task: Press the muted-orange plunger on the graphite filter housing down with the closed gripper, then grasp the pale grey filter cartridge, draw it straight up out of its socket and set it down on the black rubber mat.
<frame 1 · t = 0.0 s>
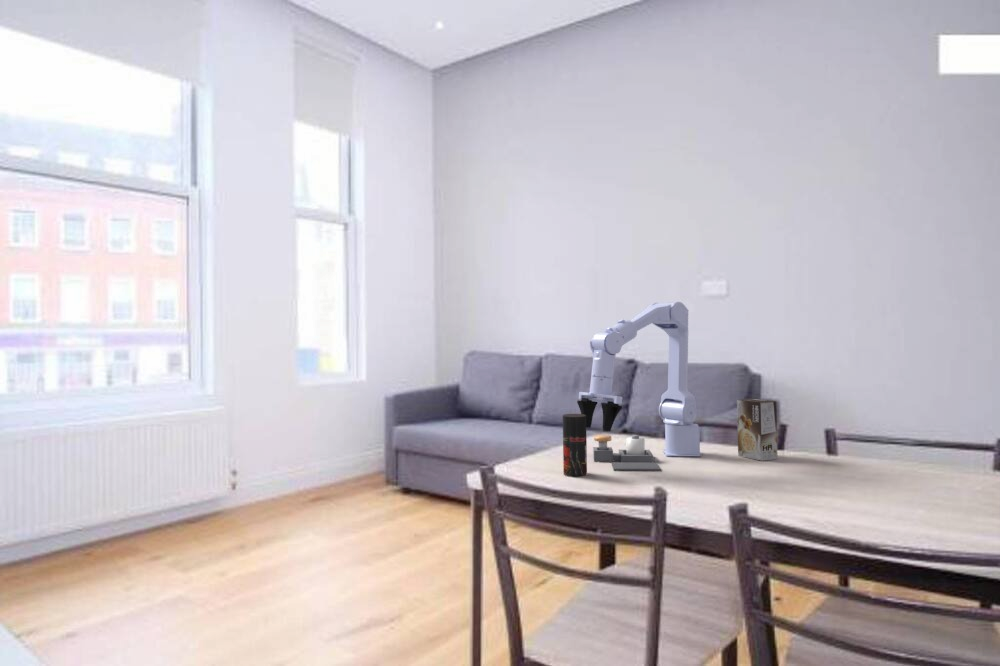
hand: (596, 429, 173), 11 cm above the table, tool pointing down, fingers open, 7 cm apart
deodorant: (575, 474, 168), on the table
cartridge: (635, 459, 184), resting in housing
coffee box: (757, 458, 185), on the table
housing: (619, 459, 185), on the table
mat: (635, 467, 174), on the table
plunger: (602, 443, 185), point 5 cm above the table, slide at 0.0 cm
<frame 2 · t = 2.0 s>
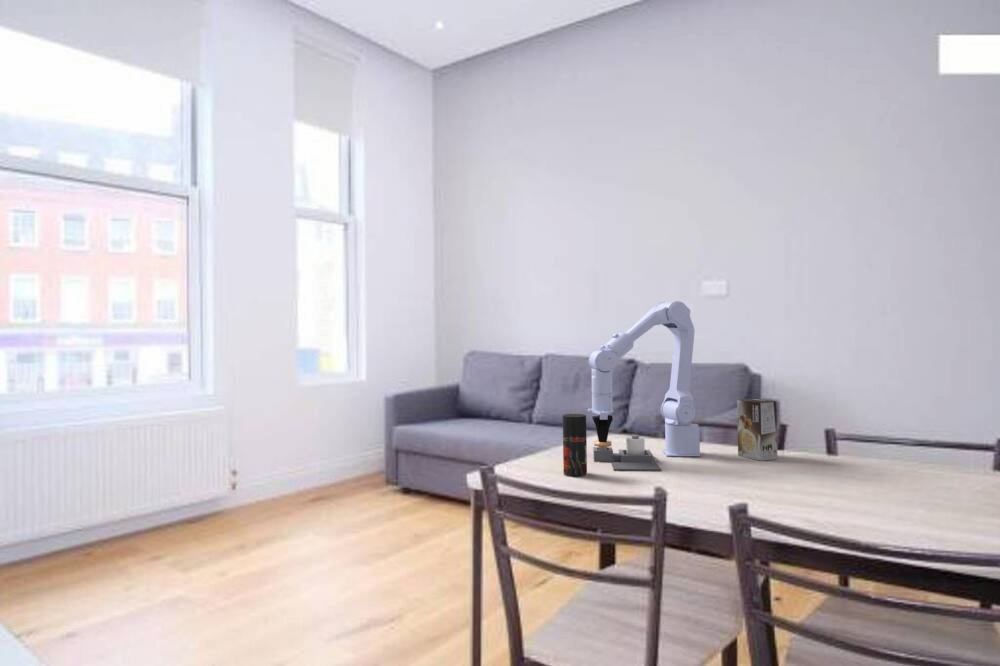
hand: (602, 441, 185), 5 cm above the table, tool pointing down, fingers closed, pressing on plunger
plunger: (602, 448, 185), point 3 cm above the table, slide at 1.5 cm, touching gripper
everything else where it was.
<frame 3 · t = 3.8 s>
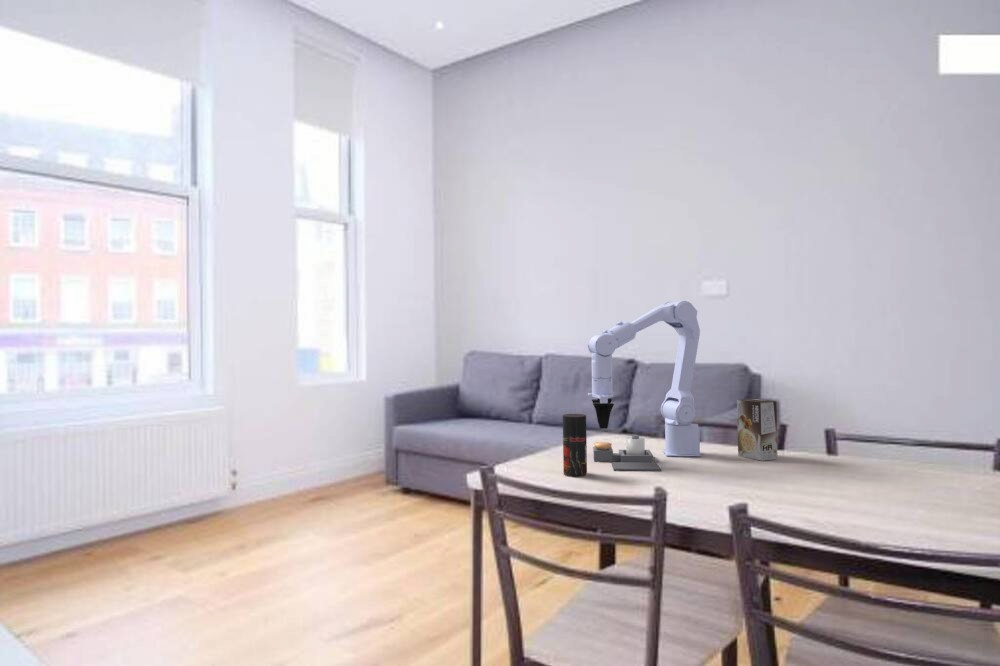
hand: (602, 426, 185), 9 cm above the table, tool pointing down, fingers open, 7 cm apart
plunger: (602, 450, 185), point 3 cm above the table, slide at 2.0 cm
everything else where it was.
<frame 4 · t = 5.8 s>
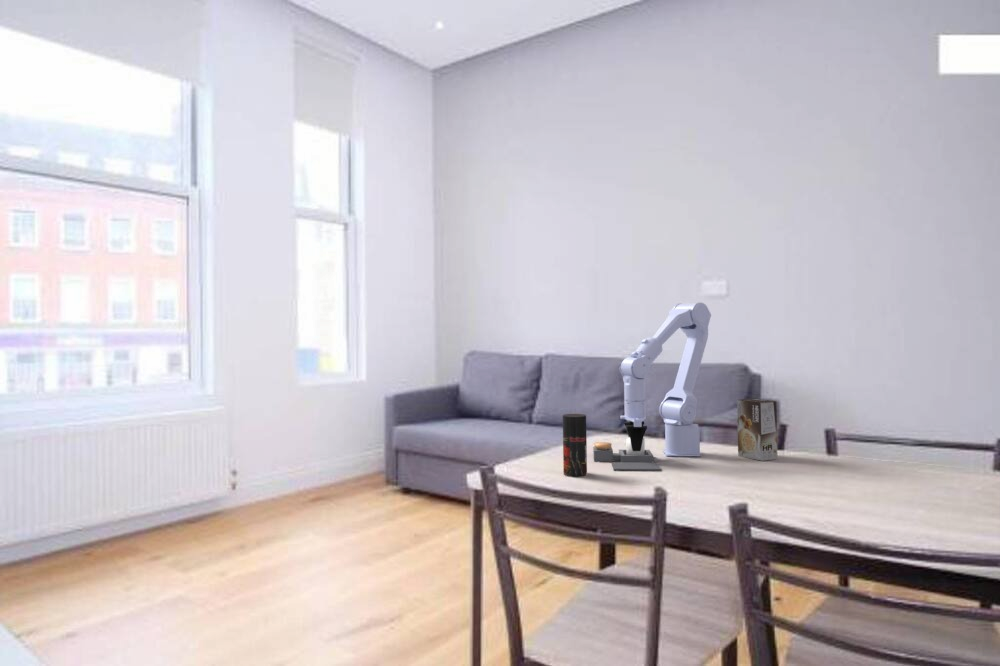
hand: (635, 448, 184), 3 cm above the table, tool pointing down, fingers closed on cartridge, 5 cm apart
cartridge: (635, 459, 184), resting in housing, touching gripper
everything else where it was.
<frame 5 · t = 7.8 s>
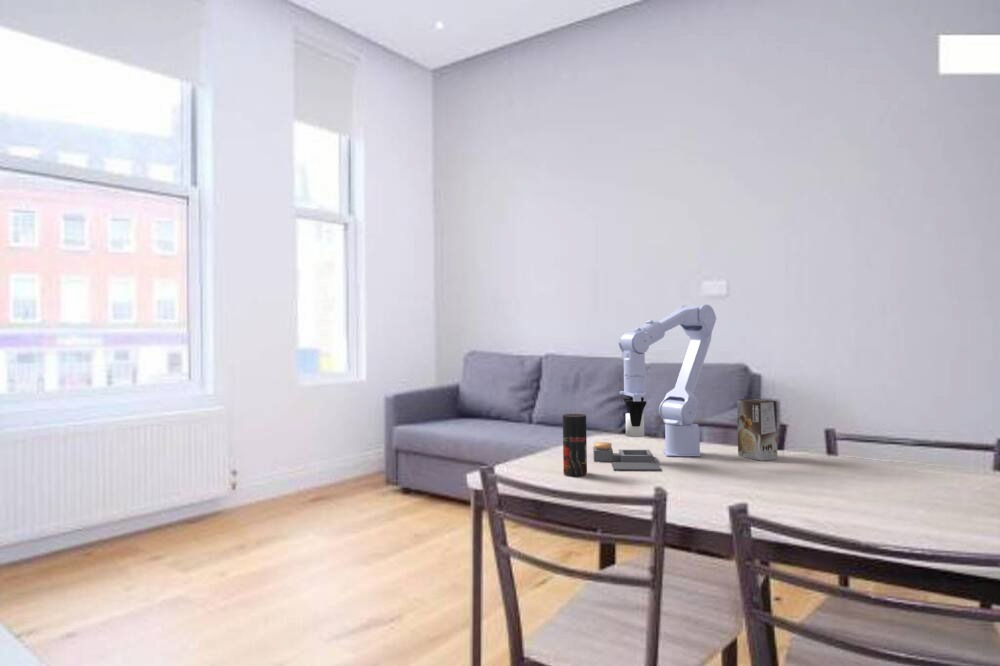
hand: (634, 424, 182), 10 cm above the table, tool pointing down, fingers closed on cartridge, 5 cm apart
cartridge: (634, 435, 182), point 7 cm above the table, touching gripper
everything else where it was.
when the fingers open (5 cm above the table, at t = 9.8 s): cartridge drops 1 cm, resting on mat.
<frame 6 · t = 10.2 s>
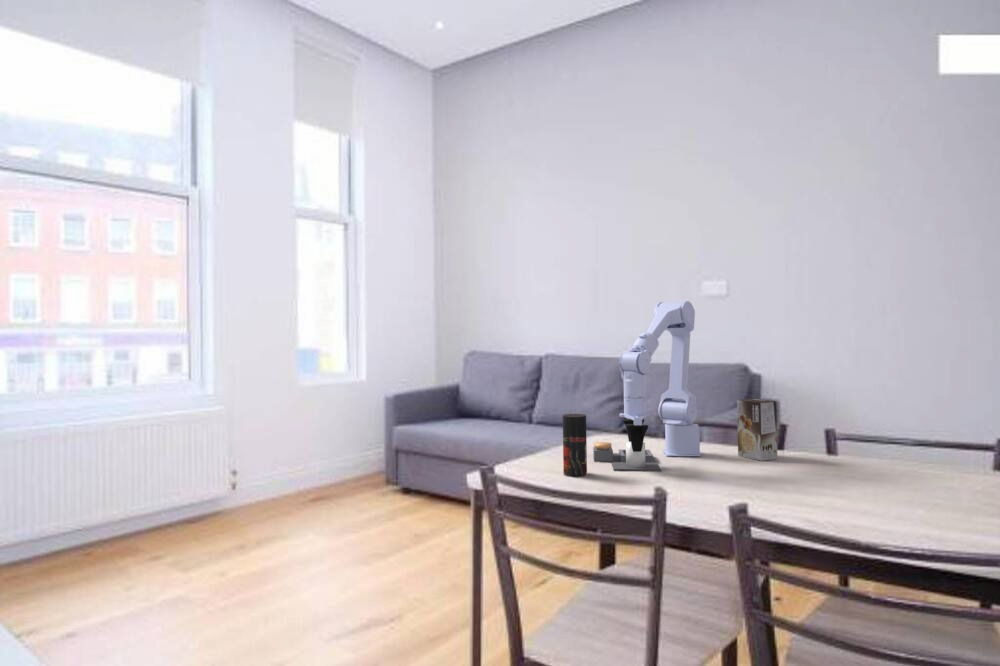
hand: (635, 448, 174), 5 cm above the table, tool pointing down, fingers open, 7 cm apart
cartridge: (635, 465, 174), point 1 cm above the table, touching mat
everything else where it was.
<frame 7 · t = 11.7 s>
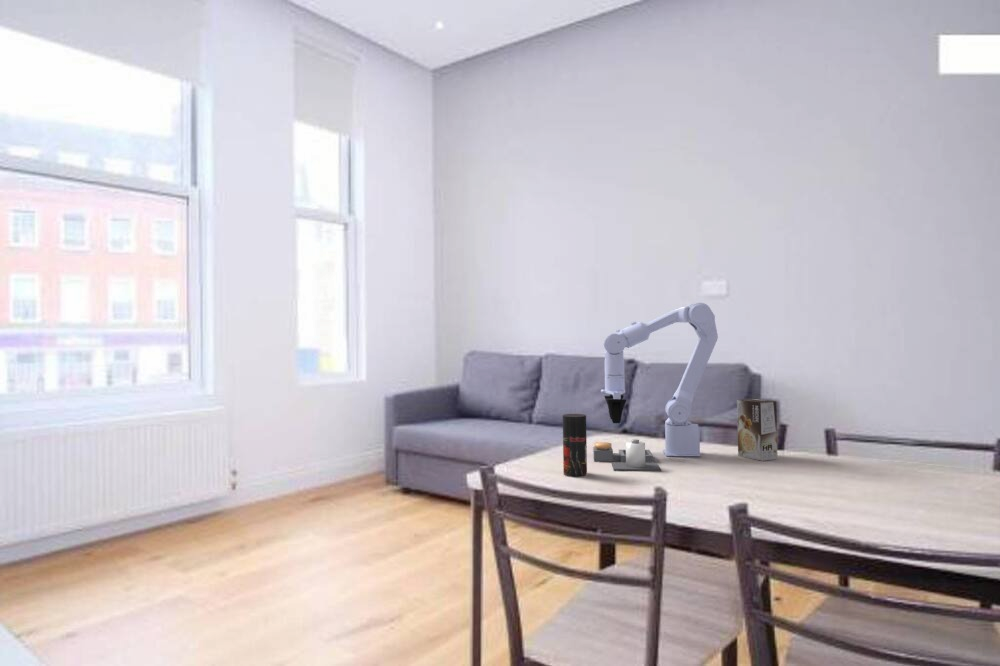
hand: (615, 421, 193), 9 cm above the table, tool pointing down, fingers open, 7 cm apart
nothing on the table moved.
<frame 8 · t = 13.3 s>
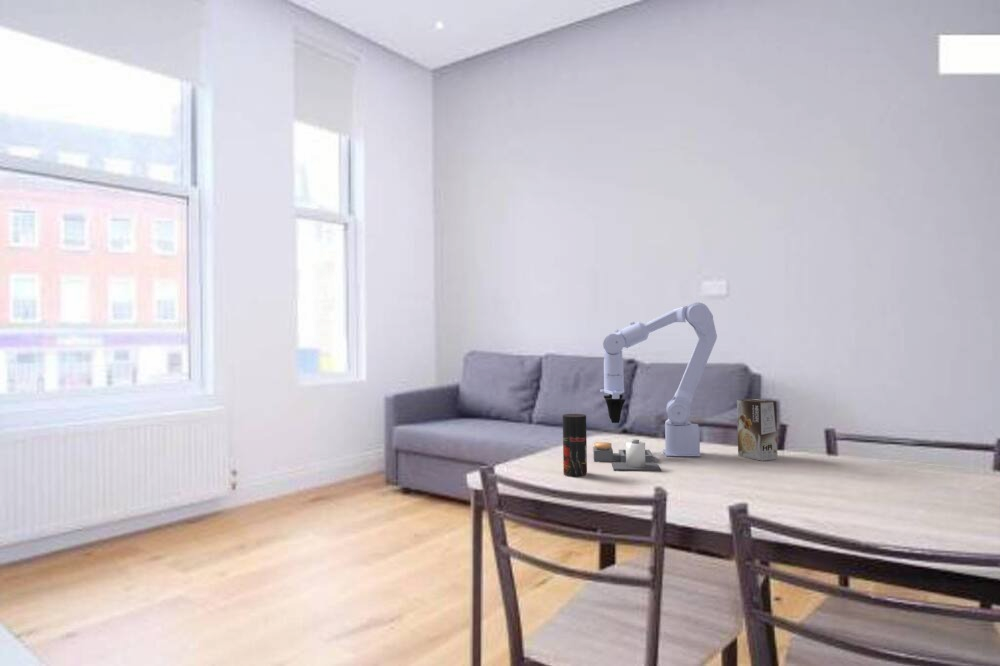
hand: (614, 420, 195), 9 cm above the table, tool pointing down, fingers open, 7 cm apart
nothing on the table moved.
at the end: plunger slide at 2.0 cm; cartridge inside the target area on the mat (0.1 cm from its centre), point 0.5 cm above the mat's base; cartridge tilted 0° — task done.
